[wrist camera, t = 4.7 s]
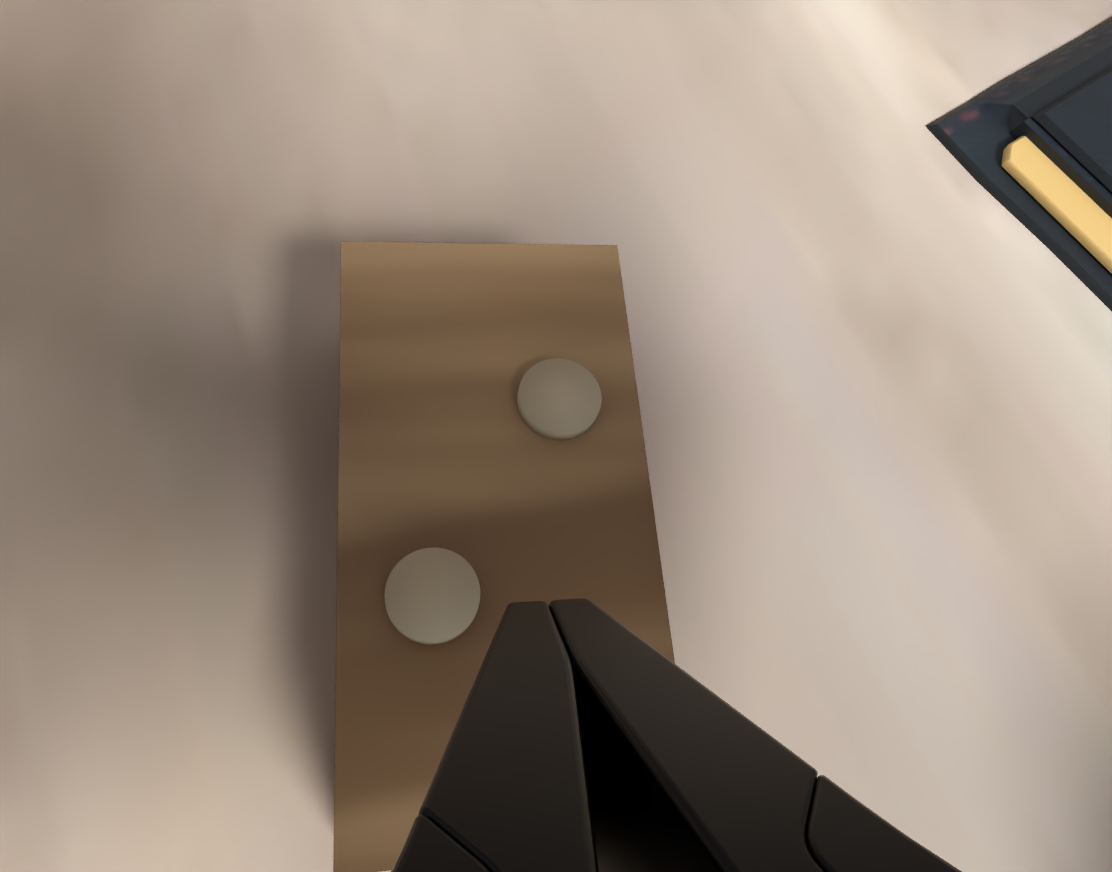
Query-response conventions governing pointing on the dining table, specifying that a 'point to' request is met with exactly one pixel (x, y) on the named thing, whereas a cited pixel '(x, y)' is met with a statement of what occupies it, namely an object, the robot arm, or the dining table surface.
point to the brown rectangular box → (472, 493)
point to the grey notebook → (1049, 151)
